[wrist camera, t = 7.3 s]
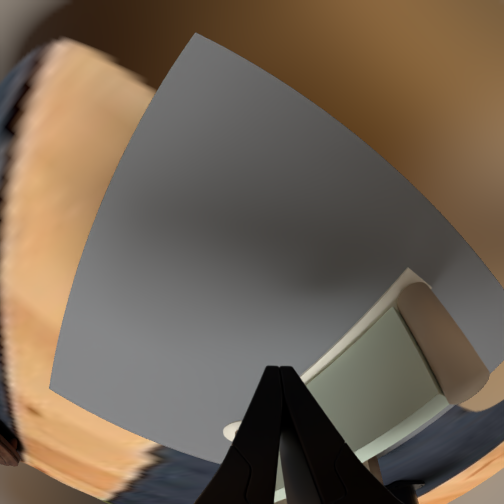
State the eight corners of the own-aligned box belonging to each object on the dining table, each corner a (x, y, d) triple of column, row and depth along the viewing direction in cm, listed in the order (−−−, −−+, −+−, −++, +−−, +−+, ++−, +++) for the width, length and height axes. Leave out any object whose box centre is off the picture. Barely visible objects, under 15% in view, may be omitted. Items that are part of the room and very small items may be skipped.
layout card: (529, 328, 14) (531, 330, 13) (327, 483, 21) (328, 485, 21) (196, 33, 8) (194, 31, 8) (50, 386, 16) (48, 389, 15)
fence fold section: (271, 433, 16) (273, 509, 11) (248, 426, 15) (246, 505, 11) (436, 292, 11) (495, 376, 7) (416, 275, 11) (480, 363, 6)
